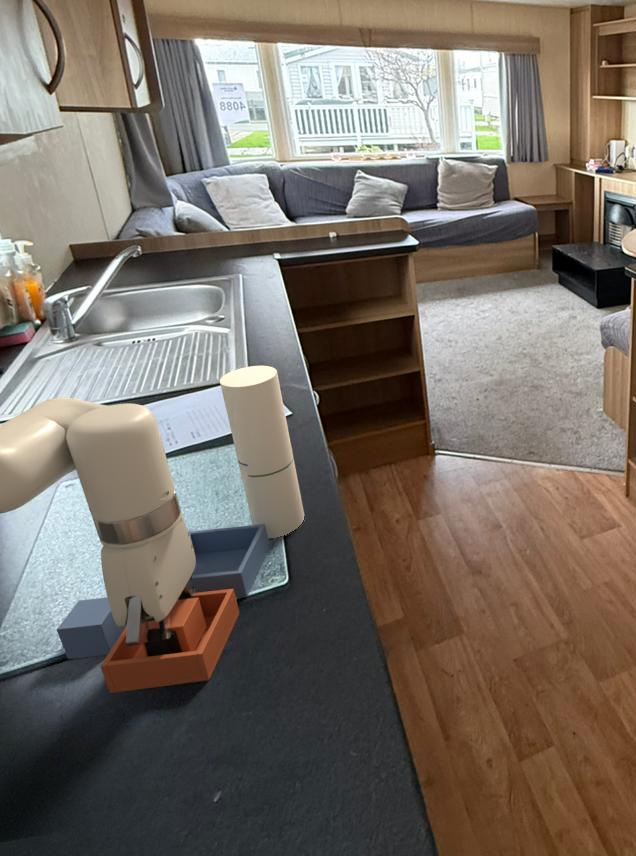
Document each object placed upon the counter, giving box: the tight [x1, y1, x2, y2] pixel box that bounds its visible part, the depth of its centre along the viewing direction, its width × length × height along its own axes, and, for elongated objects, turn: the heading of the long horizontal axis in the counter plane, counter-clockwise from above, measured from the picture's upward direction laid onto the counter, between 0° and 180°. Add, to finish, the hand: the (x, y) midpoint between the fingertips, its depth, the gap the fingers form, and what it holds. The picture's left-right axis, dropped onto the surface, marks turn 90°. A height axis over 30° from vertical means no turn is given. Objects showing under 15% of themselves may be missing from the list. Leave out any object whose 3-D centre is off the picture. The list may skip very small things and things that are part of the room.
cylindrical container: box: [219, 365, 305, 539], centre depth 95 cm, size 7×7×25 cm
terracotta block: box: [143, 598, 206, 657], centre depth 76 cm, size 5×5×5 cm
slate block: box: [56, 597, 127, 660], centre depth 78 cm, size 5×5×5 cm
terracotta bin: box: [99, 589, 240, 694], centre depth 77 cm, size 10×10×4 cm
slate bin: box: [188, 524, 271, 599], centre depth 89 cm, size 10×10×4 cm
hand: (177, 641), depth 77 cm, fingers closed on terracotta block, 4 cm apart
